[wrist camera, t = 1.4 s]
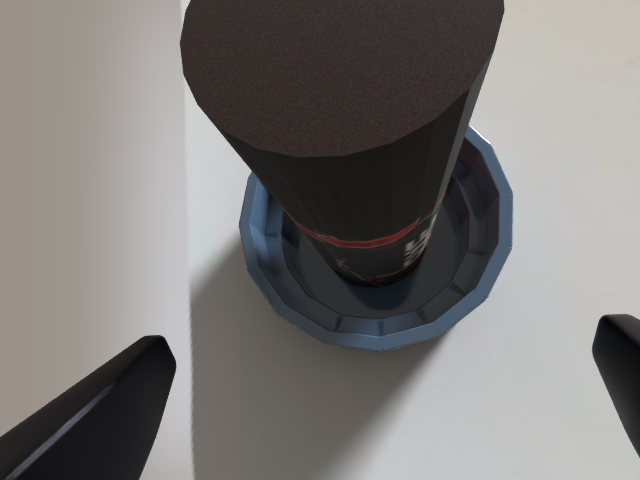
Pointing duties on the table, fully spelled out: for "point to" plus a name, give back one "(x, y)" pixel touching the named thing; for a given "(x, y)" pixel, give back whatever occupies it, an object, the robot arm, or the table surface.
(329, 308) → the bowl
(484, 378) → the table surface
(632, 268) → the table surface
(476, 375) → the table surface
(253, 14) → the deodorant
